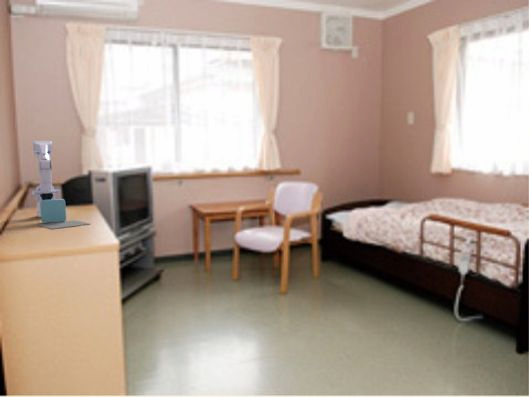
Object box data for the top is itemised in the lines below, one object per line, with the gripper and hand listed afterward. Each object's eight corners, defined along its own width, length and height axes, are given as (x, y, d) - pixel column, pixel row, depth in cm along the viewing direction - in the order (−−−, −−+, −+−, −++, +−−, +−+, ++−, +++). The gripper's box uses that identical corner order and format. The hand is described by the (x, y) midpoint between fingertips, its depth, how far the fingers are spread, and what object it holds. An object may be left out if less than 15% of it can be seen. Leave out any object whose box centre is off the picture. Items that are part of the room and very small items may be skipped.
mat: (37, 225, 238) (37, 224, 238) (75, 220, 253) (75, 220, 253) (52, 229, 228) (52, 228, 228) (90, 224, 243) (90, 223, 243)
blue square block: (66, 220, 253) (65, 198, 252) (66, 221, 248) (64, 199, 247) (42, 222, 248) (40, 200, 247) (41, 223, 244) (40, 200, 243)
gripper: (35, 183, 243) (36, 209, 244) (62, 182, 254) (63, 206, 255) (29, 182, 247) (31, 208, 249) (56, 181, 258) (57, 205, 260)
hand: (47, 207), depth 252 cm, fingers closed
